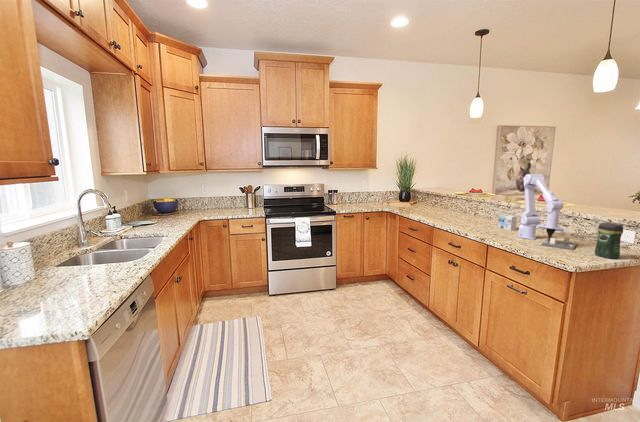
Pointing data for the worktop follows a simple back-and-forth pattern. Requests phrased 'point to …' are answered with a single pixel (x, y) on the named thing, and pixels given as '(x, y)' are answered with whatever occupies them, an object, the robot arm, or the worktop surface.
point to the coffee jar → (609, 240)
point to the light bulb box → (507, 222)
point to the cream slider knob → (566, 240)
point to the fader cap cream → (552, 240)
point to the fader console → (560, 244)
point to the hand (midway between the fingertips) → (549, 240)
